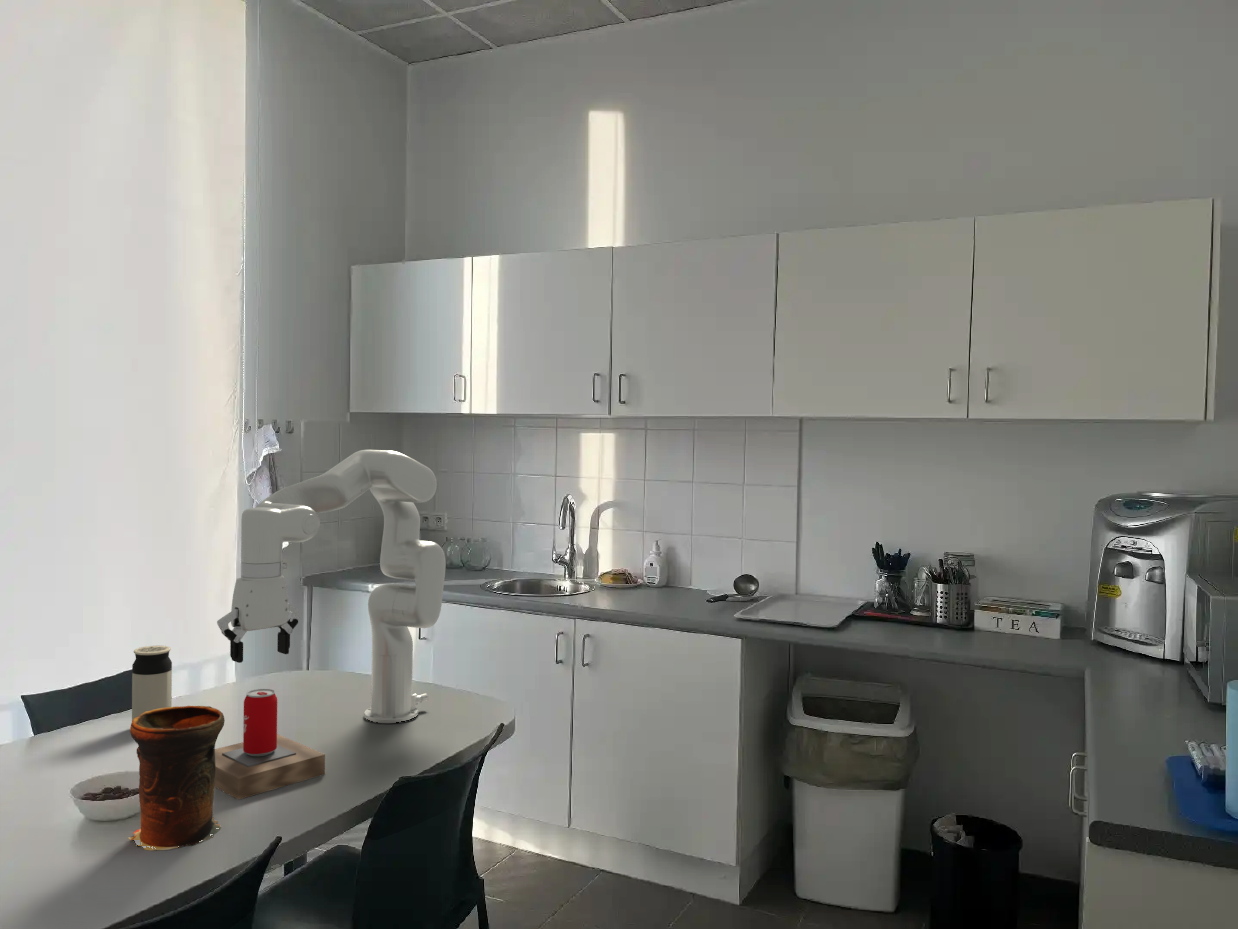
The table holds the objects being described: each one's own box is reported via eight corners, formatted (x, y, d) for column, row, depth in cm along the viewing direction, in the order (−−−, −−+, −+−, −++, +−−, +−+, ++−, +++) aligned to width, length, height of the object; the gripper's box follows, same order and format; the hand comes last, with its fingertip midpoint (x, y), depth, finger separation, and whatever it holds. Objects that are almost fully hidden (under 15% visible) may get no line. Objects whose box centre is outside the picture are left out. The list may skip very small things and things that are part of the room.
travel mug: (170, 732, 211) (170, 652, 210) (130, 735, 208) (130, 654, 207) (172, 721, 218) (173, 644, 218) (133, 724, 216) (134, 646, 215)
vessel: (148, 814, 167) (152, 702, 166) (232, 816, 168) (236, 704, 167) (110, 851, 152) (114, 728, 151) (202, 853, 153) (206, 731, 152)
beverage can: (266, 745, 192) (267, 686, 191) (282, 752, 188) (283, 692, 187) (236, 752, 187) (237, 692, 186) (253, 760, 183) (254, 698, 182)
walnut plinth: (276, 752, 200) (277, 732, 200) (324, 774, 188) (325, 752, 188) (192, 775, 186) (192, 753, 186) (238, 799, 174) (238, 776, 174)
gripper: (291, 564, 195) (290, 647, 196) (209, 573, 182) (208, 661, 182) (311, 568, 190) (310, 653, 191) (228, 577, 177) (228, 668, 178)
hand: (260, 657), depth 187 cm, fingers open, 9 cm apart
